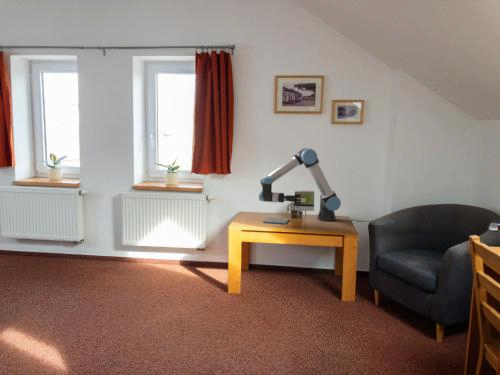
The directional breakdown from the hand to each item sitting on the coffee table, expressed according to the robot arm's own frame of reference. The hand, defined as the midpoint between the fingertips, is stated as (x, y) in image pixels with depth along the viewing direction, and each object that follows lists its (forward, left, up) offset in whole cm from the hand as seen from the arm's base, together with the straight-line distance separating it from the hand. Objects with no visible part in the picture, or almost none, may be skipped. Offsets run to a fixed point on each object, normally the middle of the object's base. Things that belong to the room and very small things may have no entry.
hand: (306, 199), depth 306 cm
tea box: (+2, 0, -9) cm, 9 cm away
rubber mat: (+25, -8, -21) cm, 34 cm away
